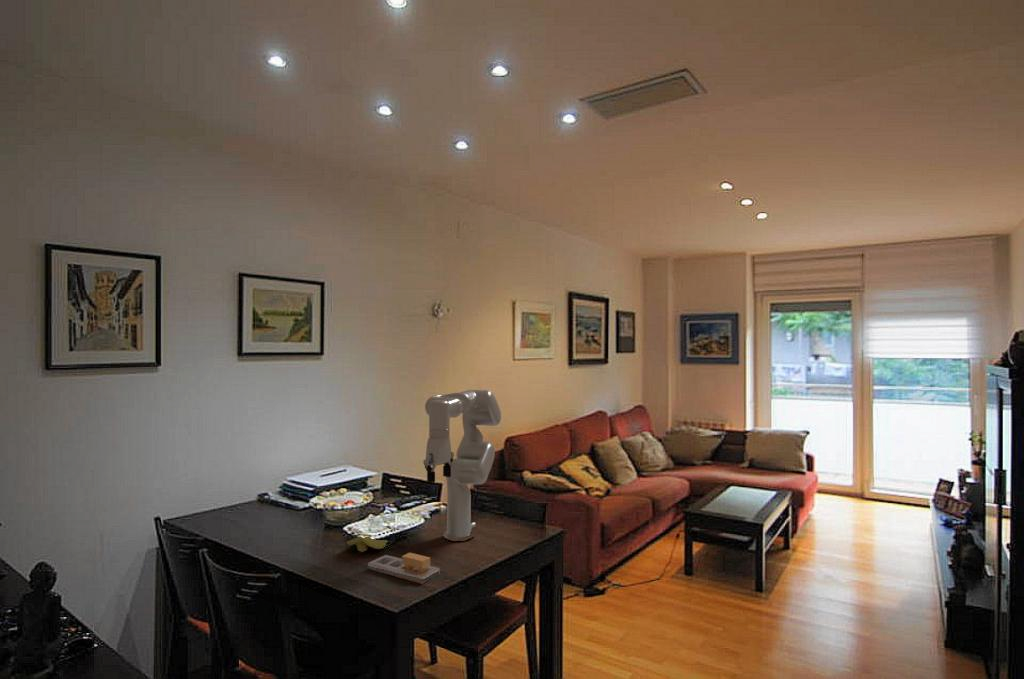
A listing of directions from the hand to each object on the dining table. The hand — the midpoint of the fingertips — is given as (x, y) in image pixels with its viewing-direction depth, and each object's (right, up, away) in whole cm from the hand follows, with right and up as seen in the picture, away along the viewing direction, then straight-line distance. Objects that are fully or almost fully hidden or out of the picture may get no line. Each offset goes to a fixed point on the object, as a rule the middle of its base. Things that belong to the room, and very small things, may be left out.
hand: (439, 479), depth 224 cm
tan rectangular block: (-5, -28, -20) cm, 35 cm away
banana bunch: (-27, -28, +7) cm, 40 cm away
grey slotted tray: (-10, -28, -17) cm, 34 cm away
